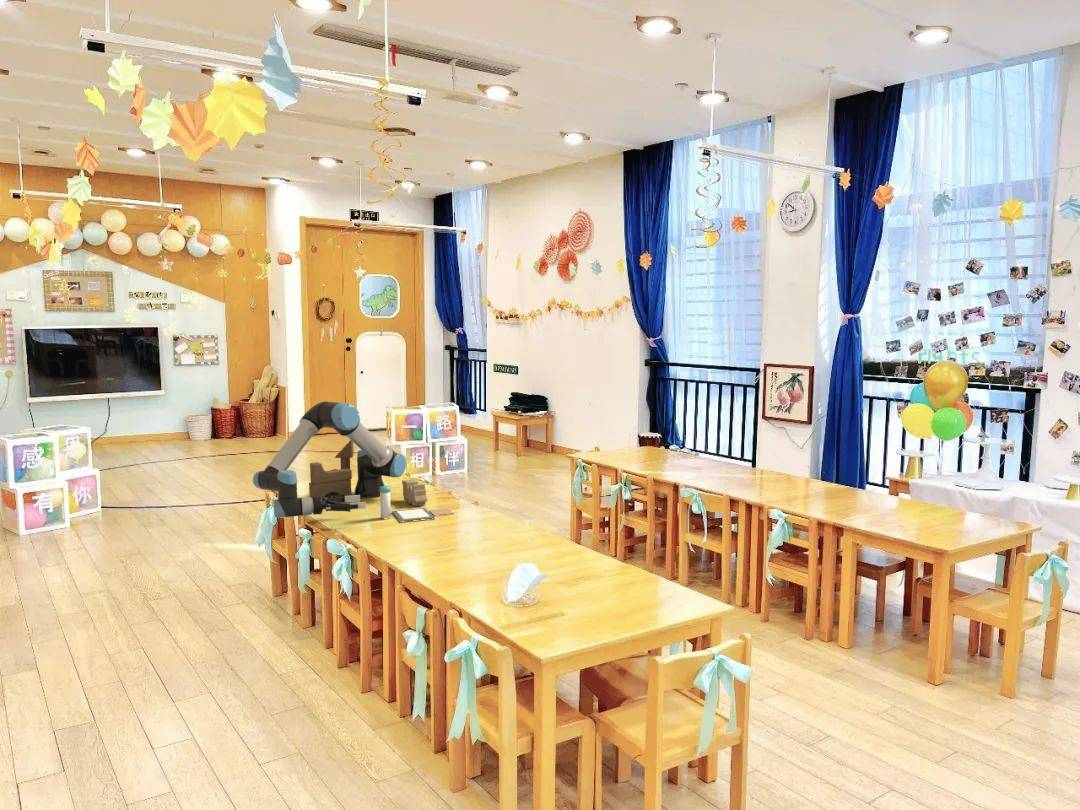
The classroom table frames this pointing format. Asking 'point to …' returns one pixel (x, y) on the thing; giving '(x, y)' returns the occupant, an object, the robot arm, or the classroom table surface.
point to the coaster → (441, 512)
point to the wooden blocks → (332, 476)
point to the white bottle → (385, 502)
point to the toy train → (414, 492)
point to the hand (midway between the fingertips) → (362, 501)
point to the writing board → (413, 514)
